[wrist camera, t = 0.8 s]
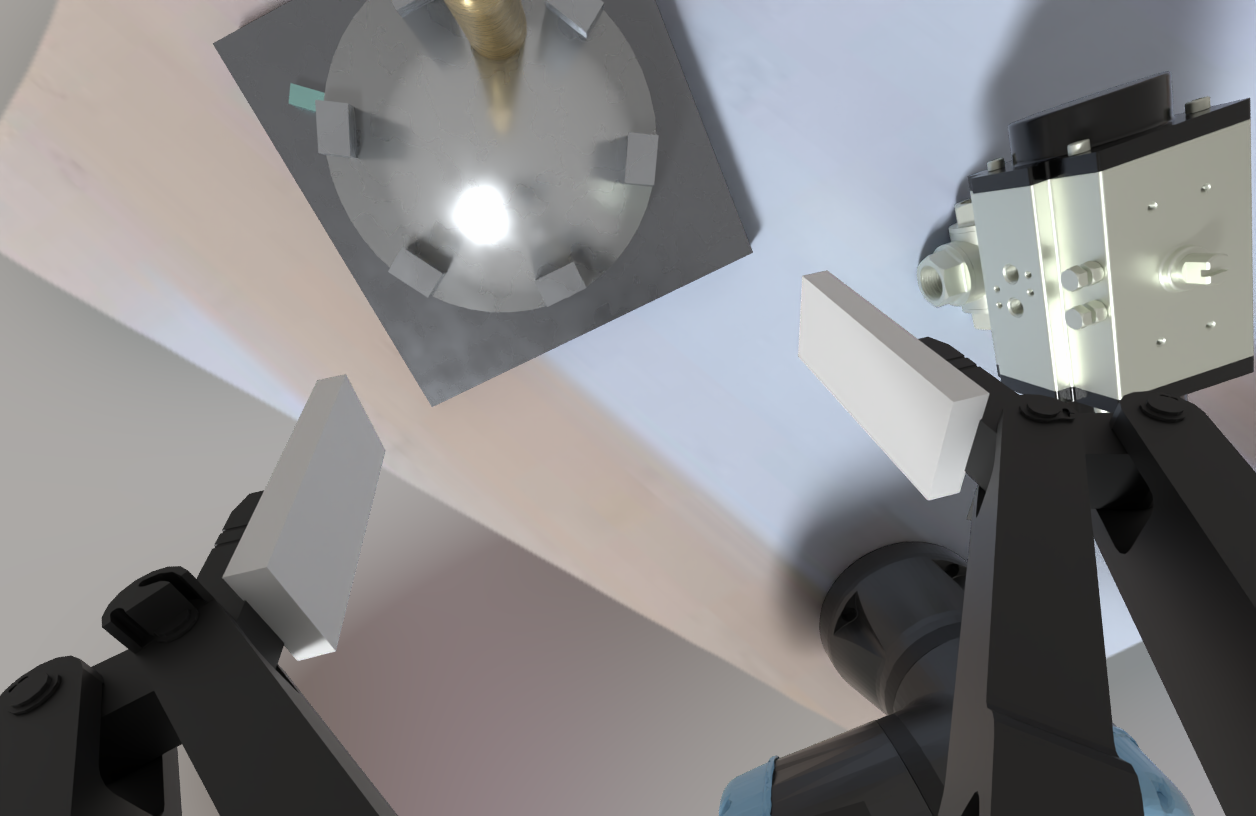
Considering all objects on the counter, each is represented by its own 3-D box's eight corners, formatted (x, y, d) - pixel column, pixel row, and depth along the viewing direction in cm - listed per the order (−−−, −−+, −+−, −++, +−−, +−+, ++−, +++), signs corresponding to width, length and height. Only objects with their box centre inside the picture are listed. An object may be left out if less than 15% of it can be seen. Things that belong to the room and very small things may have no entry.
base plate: (745, 252, 42) (755, 252, 39) (439, 399, 44) (429, 409, 41) (591, -142, 35) (591, -172, 32) (232, 54, 36) (206, 40, 34)
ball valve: (887, 162, 41) (1098, 100, 24) (1000, 121, 40) (1298, 29, 23) (930, 388, 46) (1129, 473, 29) (1031, 354, 45) (1294, 419, 28)
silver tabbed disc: (698, 231, 39) (779, 218, 22) (445, 354, 40) (336, 432, 23) (568, -86, 33) (540, -429, 16) (280, 69, 35) (-18, -100, 18)
